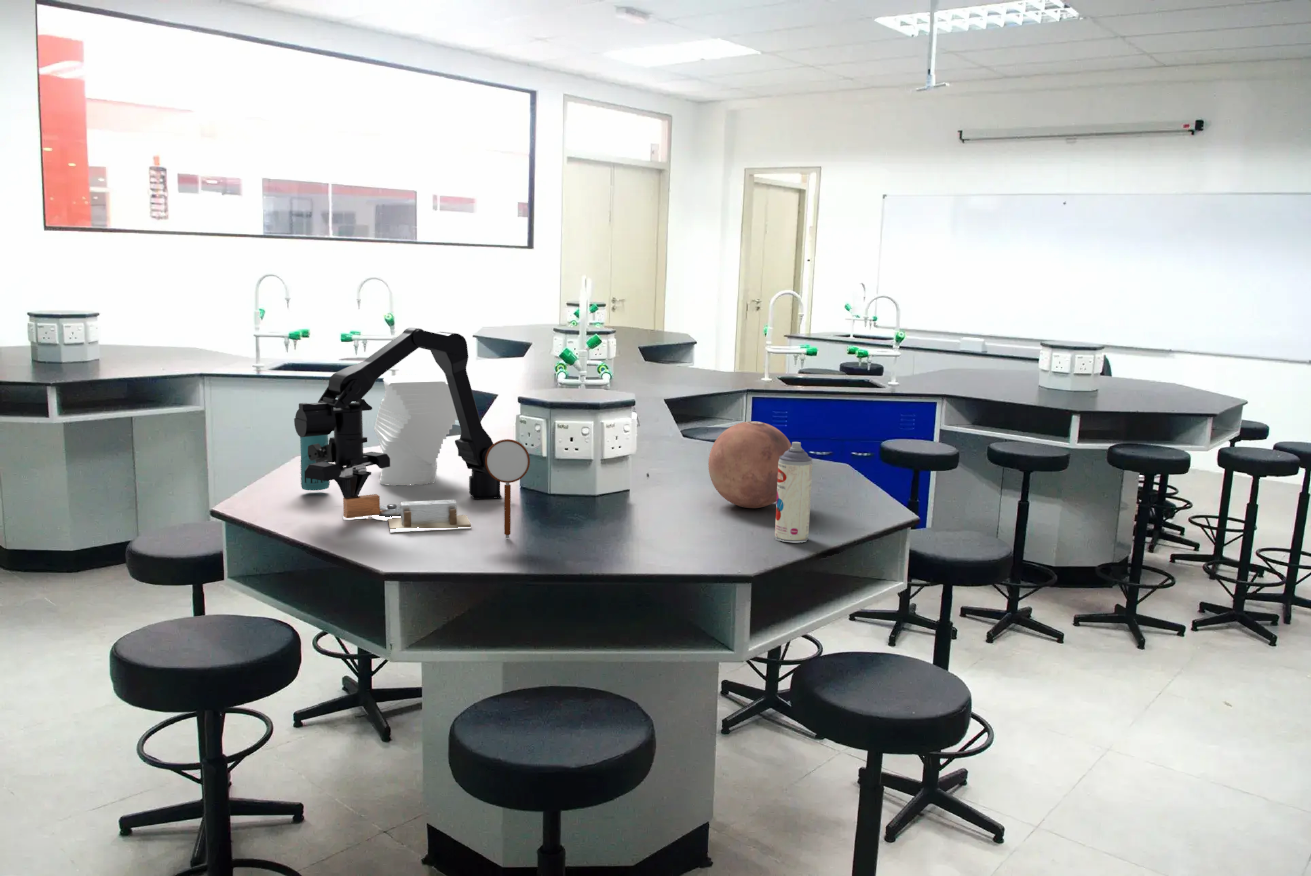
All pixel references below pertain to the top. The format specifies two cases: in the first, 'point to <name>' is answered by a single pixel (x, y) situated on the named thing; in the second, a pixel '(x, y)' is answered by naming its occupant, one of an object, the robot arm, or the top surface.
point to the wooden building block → (368, 507)
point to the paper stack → (413, 427)
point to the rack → (454, 523)
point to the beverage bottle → (311, 462)
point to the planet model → (747, 463)
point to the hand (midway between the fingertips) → (350, 505)
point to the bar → (428, 511)
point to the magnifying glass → (507, 470)
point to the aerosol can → (793, 494)
